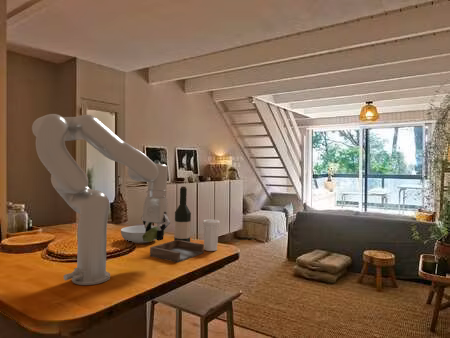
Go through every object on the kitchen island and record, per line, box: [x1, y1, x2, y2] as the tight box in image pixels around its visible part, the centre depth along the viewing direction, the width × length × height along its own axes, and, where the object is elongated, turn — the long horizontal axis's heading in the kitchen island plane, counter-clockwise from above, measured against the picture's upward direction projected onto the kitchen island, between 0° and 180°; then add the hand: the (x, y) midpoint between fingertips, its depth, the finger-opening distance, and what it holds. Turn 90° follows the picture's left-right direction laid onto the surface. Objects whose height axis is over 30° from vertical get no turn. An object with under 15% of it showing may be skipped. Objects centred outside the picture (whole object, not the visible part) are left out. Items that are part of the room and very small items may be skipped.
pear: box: [142, 225, 165, 243], centre depth 134 cm, size 6×5×10 cm
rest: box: [149, 240, 205, 263], centre depth 153 cm, size 19×16×4 cm
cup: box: [202, 219, 221, 252], centre depth 163 cm, size 8×8×14 cm
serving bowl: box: [120, 224, 157, 244], centre depth 176 cm, size 21×21×7 cm
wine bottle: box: [173, 186, 192, 242], centre depth 170 cm, size 8×8×30 cm
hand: (154, 238), depth 135 cm, fingers closed on pear, 5 cm apart
